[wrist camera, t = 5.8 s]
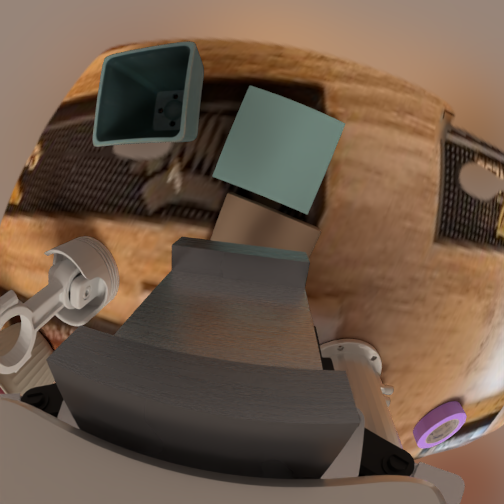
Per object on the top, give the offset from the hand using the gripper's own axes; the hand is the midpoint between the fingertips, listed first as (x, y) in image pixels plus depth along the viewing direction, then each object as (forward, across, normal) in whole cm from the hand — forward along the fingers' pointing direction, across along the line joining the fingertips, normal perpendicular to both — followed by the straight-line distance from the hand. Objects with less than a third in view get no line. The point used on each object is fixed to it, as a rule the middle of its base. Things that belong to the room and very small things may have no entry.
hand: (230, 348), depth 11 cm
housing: (+1, 0, 0) cm, 1 cm away
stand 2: (+20, 0, +2) cm, 20 cm away
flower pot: (+20, +10, -13) cm, 26 cm away
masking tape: (+19, -41, +33) cm, 56 cm away
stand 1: (+20, -1, -9) cm, 22 cm away
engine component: (+20, +22, +8) cm, 31 cm away
